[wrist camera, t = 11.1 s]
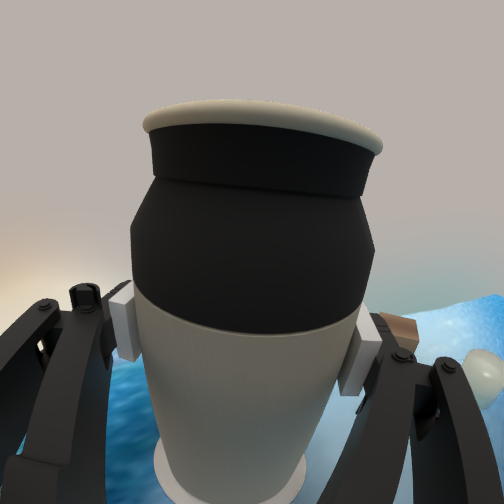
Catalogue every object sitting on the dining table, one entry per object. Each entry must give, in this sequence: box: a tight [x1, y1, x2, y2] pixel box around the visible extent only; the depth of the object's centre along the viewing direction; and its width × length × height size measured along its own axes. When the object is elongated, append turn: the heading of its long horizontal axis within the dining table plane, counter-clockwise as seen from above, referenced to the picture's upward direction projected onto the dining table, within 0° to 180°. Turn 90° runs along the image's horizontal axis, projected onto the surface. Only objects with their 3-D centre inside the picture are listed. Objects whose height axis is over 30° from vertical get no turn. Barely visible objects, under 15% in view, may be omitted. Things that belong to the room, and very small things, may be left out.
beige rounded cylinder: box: [461, 349, 504, 410], centre depth 18 cm, size 6×6×4 cm
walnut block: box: [379, 312, 419, 354], centre depth 25 cm, size 4×4×4 cm
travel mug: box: [130, 99, 383, 504], centre depth 11 cm, size 8×8×18 cm
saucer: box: [154, 437, 307, 504], centre depth 14 cm, size 10×10×1 cm
